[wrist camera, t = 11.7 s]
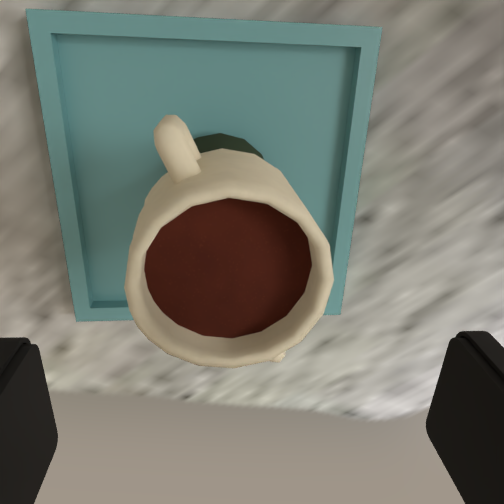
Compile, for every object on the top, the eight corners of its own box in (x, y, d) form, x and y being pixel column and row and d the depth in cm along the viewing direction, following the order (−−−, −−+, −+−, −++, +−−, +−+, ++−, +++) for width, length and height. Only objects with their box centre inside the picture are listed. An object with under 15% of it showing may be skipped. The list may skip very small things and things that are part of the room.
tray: (372, 29, 24) (382, 27, 22) (334, 303, 31) (340, 314, 30) (36, 11, 22) (25, 8, 20) (82, 309, 29) (76, 321, 28)
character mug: (121, 123, 24) (40, 185, 12) (236, 69, 23) (269, 79, 11) (204, 276, 28) (205, 430, 17) (302, 234, 28) (374, 363, 16)
